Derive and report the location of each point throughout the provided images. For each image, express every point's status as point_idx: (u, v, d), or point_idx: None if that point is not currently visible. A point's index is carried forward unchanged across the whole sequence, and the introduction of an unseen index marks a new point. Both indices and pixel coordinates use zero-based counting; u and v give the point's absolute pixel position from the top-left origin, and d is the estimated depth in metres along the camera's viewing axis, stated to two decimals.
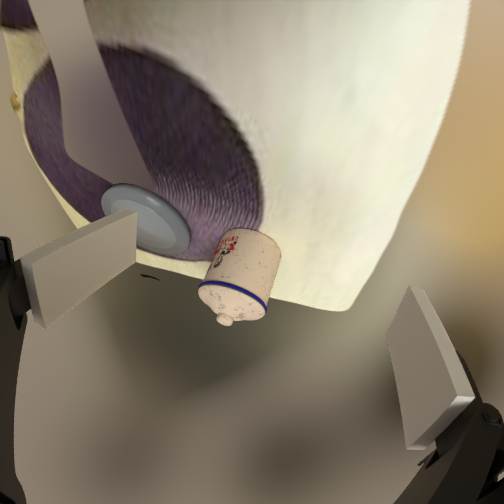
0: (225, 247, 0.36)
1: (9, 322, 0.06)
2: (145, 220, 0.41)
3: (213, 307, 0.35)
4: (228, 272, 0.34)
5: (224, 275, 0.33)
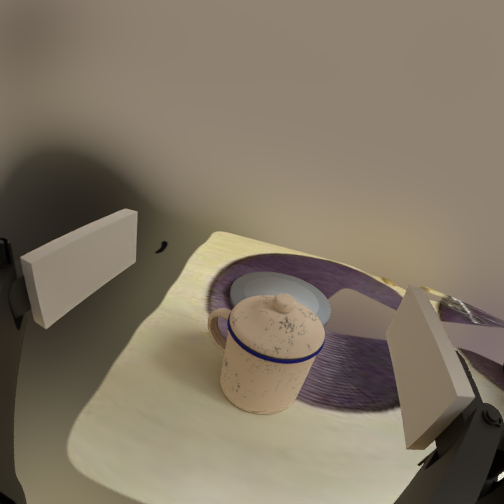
0: None
1: (9, 322, 0.06)
2: None
3: None
4: None
5: None
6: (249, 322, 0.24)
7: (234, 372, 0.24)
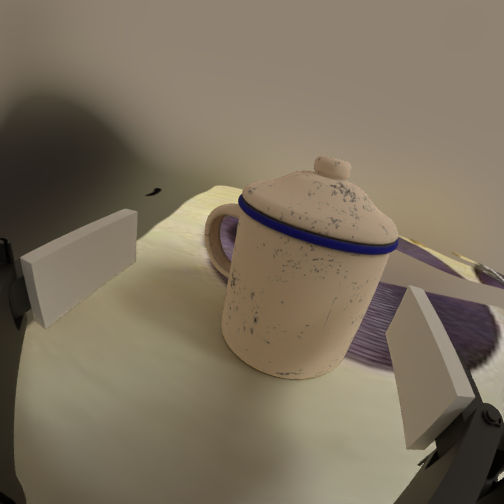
0: None
1: (9, 322, 0.06)
2: None
3: None
4: None
5: None
6: (278, 188, 0.14)
7: (249, 291, 0.14)
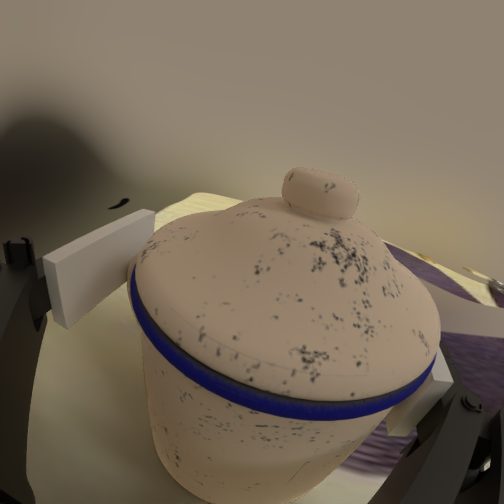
0: None
1: (28, 324, 0.06)
2: None
3: None
4: None
5: None
6: (195, 249, 0.06)
7: (161, 422, 0.07)
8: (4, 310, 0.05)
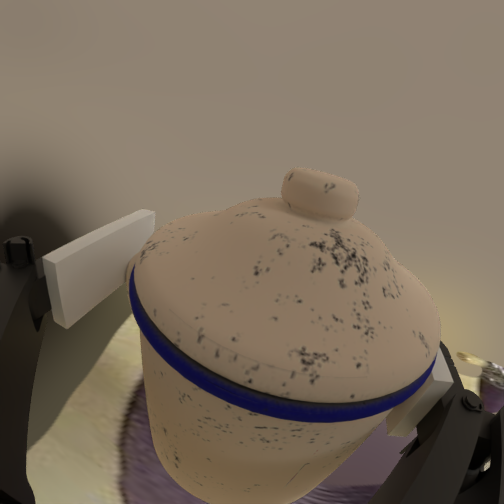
0: None
1: (28, 324, 0.06)
2: None
3: None
4: None
5: None
6: (194, 250, 0.06)
7: (160, 423, 0.07)
8: (4, 310, 0.05)
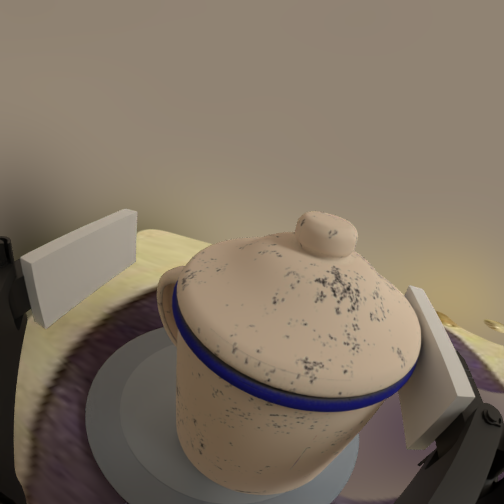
0: None
1: (9, 322, 0.06)
2: None
3: None
4: None
5: None
6: (226, 281, 0.08)
7: (191, 415, 0.09)
8: None
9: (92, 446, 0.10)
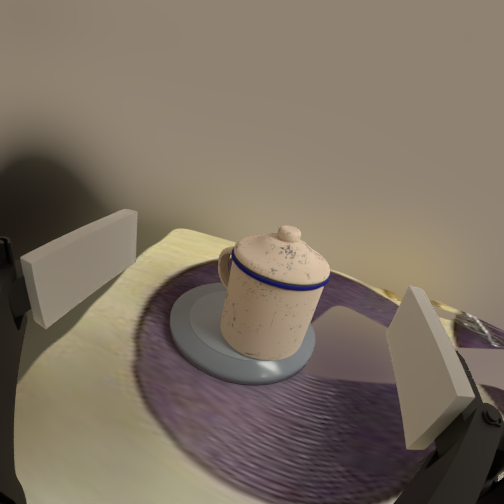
0: None
1: (9, 322, 0.06)
2: None
3: None
4: None
5: None
6: (251, 247, 0.24)
7: (232, 302, 0.25)
8: None
9: (177, 337, 0.26)
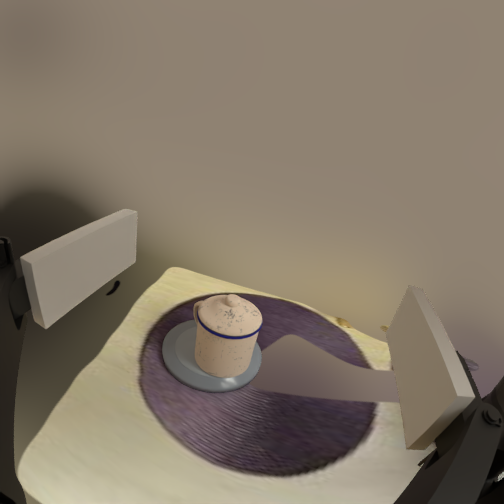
0: None
1: (9, 322, 0.06)
2: None
3: (243, 302, 0.39)
4: (257, 334, 0.39)
5: None
6: (208, 309, 0.38)
7: (198, 341, 0.38)
8: None
9: (166, 360, 0.39)
